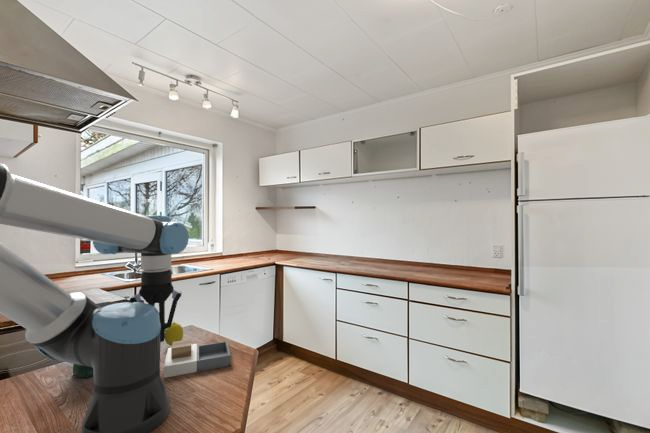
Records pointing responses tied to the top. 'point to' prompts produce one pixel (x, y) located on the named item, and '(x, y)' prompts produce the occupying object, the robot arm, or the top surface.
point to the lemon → (173, 333)
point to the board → (181, 363)
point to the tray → (213, 356)
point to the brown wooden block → (181, 349)
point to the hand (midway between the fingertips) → (157, 353)
